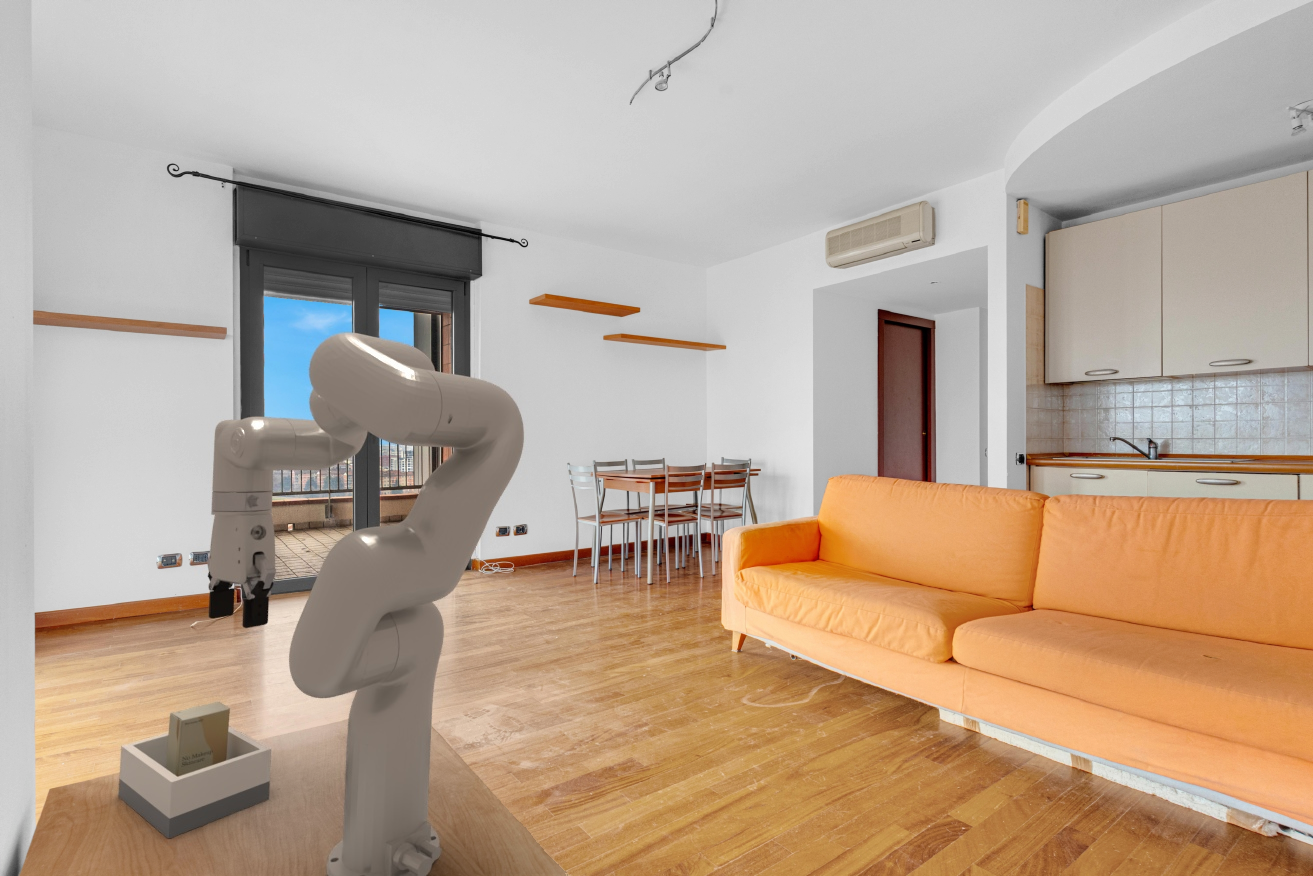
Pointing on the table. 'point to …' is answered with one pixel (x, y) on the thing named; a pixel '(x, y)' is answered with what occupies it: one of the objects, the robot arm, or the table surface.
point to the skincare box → (197, 738)
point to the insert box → (193, 783)
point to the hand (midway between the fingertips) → (237, 621)
